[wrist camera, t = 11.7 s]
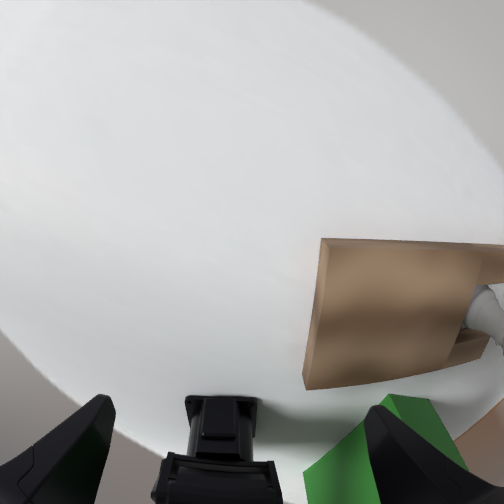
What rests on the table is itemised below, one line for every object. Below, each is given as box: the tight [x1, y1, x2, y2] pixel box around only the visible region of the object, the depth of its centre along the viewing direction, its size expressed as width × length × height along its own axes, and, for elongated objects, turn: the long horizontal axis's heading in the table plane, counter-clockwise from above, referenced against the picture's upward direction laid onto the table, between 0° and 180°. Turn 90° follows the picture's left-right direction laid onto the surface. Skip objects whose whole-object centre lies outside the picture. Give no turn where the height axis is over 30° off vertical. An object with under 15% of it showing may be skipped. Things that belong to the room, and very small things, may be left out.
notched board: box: [302, 238, 504, 390], centre depth 20 cm, size 12×20×2 cm, turn 88°
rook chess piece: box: [463, 285, 504, 355], centre depth 18 cm, size 4×4×8 cm
